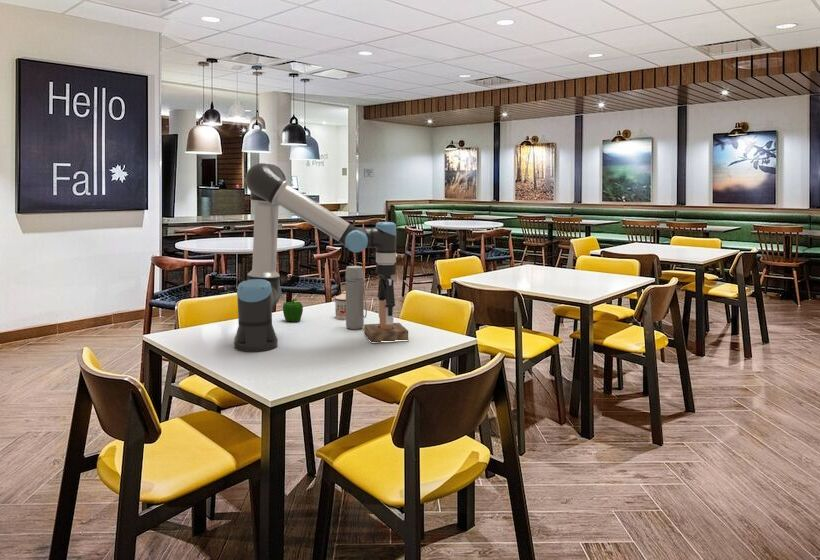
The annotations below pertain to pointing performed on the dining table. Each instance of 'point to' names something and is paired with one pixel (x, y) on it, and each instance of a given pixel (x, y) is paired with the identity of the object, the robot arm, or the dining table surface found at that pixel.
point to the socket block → (385, 332)
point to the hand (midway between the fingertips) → (385, 320)
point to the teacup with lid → (340, 306)
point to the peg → (383, 317)
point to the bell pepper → (292, 310)
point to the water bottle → (355, 297)
